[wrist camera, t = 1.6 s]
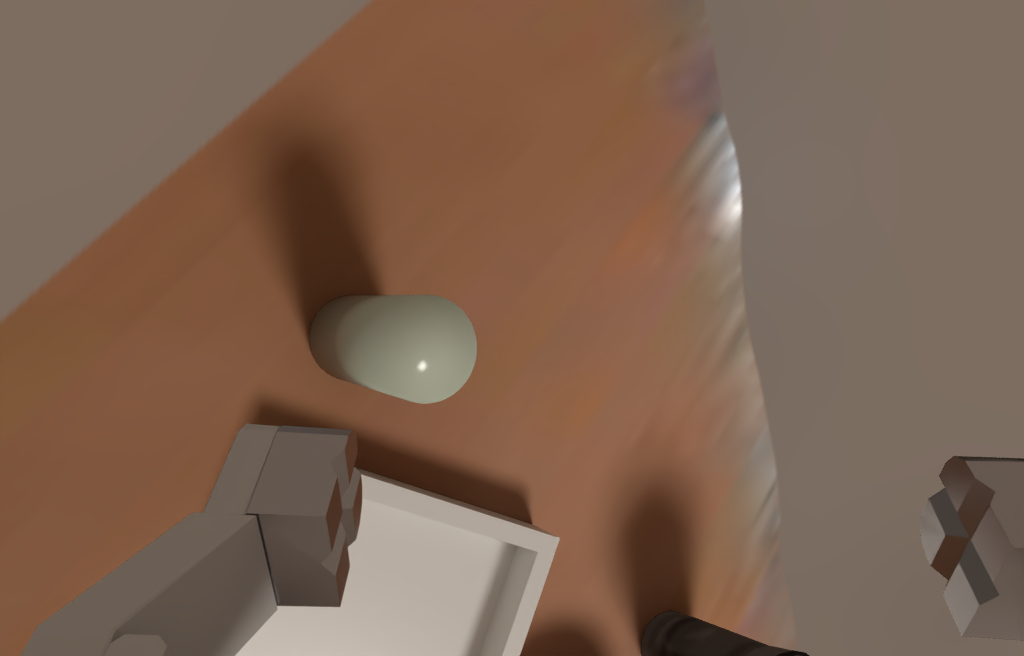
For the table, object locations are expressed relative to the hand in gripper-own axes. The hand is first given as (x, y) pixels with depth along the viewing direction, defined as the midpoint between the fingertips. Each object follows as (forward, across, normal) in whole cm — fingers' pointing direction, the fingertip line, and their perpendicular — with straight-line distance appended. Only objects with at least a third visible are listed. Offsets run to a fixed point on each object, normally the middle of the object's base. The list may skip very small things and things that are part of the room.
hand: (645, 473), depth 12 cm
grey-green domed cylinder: (+31, +12, +22) cm, 39 cm away
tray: (+22, +10, +35) cm, 43 cm away
